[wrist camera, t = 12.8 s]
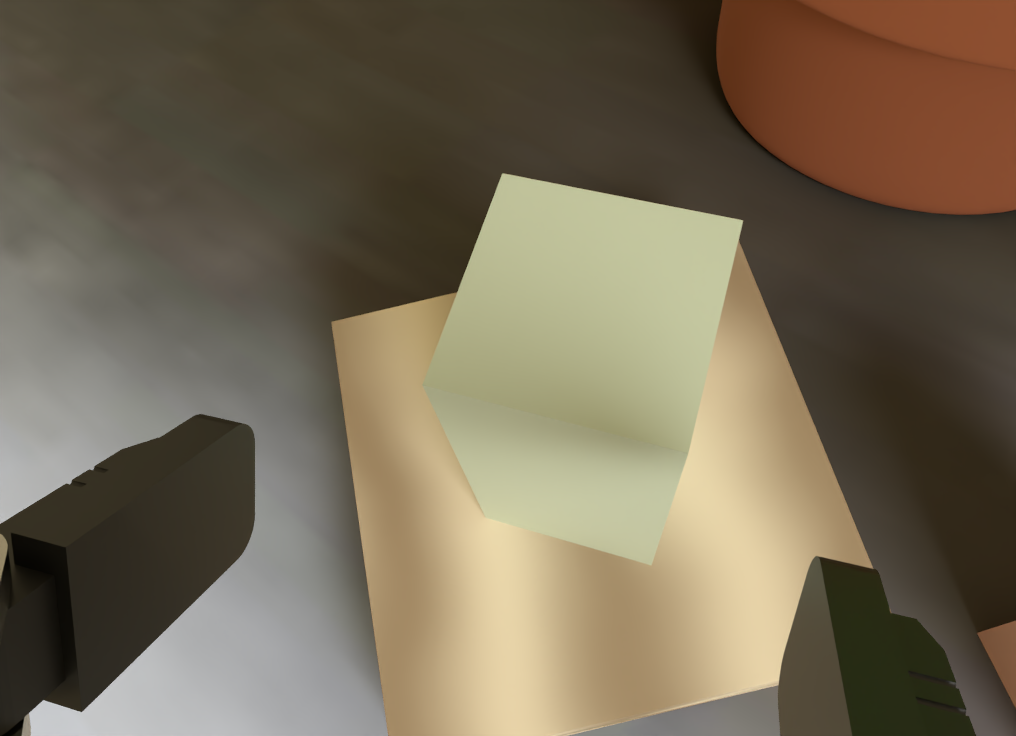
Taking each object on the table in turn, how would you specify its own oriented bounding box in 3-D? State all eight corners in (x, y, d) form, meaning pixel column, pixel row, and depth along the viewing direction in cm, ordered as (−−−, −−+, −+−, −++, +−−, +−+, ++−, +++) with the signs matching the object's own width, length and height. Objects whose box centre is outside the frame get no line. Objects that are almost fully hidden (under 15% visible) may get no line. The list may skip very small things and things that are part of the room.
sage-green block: (689, 407, 25) (742, 220, 16) (651, 565, 23) (688, 453, 14) (533, 369, 26) (502, 173, 17) (485, 517, 24) (422, 385, 15)
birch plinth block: (713, 300, 32) (732, 227, 28) (852, 667, 26) (906, 649, 22) (367, 382, 32) (331, 321, 28) (427, 769, 26) (393, 772, 22)
